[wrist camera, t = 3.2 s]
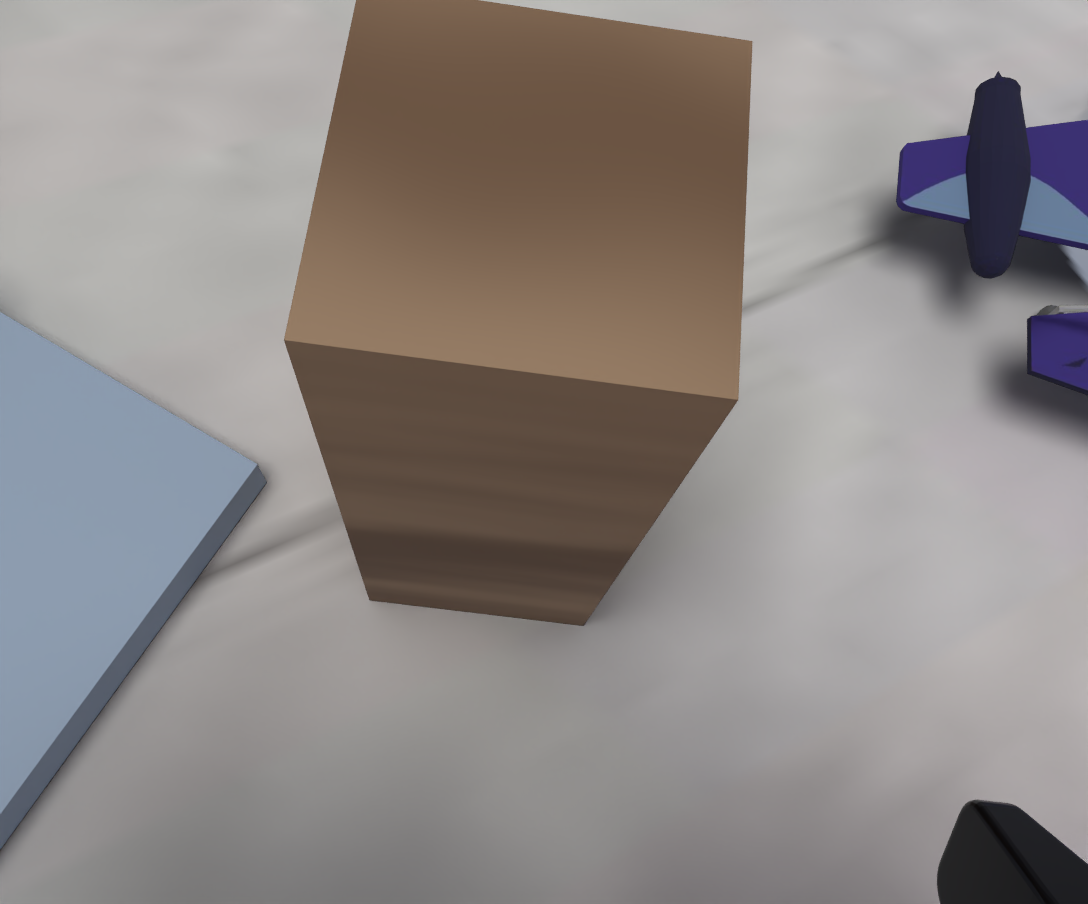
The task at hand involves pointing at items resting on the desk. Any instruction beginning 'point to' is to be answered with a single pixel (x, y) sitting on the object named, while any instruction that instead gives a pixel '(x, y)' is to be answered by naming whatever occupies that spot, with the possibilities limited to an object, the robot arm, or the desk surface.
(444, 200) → the block
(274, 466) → the desk surface
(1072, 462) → the desk surface
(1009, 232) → the toy airplane
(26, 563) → the board
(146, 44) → the desk surface
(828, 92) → the desk surface
